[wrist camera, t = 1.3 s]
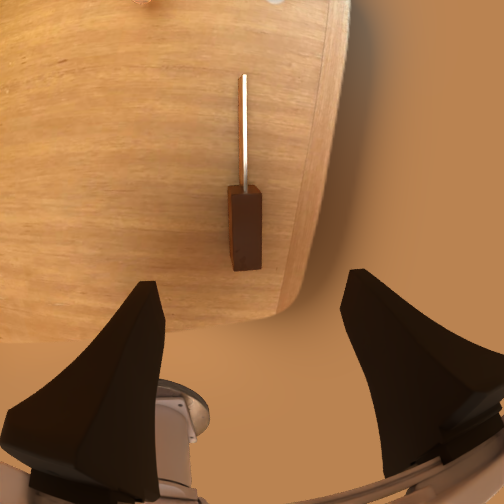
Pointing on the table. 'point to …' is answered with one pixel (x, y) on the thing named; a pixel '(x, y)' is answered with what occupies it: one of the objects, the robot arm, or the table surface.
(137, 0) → the mug
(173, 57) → the table surface
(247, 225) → the knife
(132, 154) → the table surface
